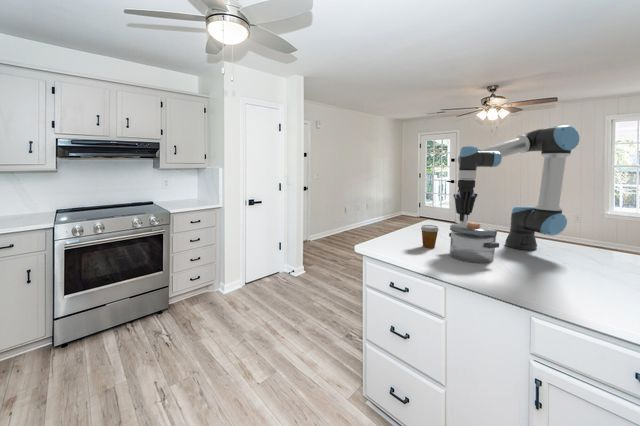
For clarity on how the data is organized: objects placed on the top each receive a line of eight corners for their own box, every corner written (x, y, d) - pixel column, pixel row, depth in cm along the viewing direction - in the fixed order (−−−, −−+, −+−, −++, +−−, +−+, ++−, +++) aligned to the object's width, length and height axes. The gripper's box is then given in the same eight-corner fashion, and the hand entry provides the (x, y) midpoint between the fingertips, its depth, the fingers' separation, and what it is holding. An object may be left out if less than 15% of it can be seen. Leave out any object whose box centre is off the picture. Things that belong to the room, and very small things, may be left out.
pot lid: (471, 227, 163) (472, 219, 162) (506, 236, 144) (507, 227, 143) (441, 228, 156) (442, 219, 155) (473, 237, 137) (475, 227, 136)
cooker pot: (468, 248, 168) (470, 227, 166) (510, 261, 144) (513, 237, 142) (437, 252, 160) (439, 230, 158) (476, 267, 137) (478, 241, 135)
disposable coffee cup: (435, 245, 174) (436, 224, 172) (439, 249, 165) (441, 228, 163) (418, 244, 175) (419, 224, 173) (422, 249, 166) (423, 228, 164)
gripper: (470, 178, 149) (467, 225, 153) (450, 179, 145) (446, 227, 148) (483, 179, 142) (479, 228, 146) (462, 180, 138) (458, 230, 141)
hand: (462, 227), depth 147 cm, fingers closed
